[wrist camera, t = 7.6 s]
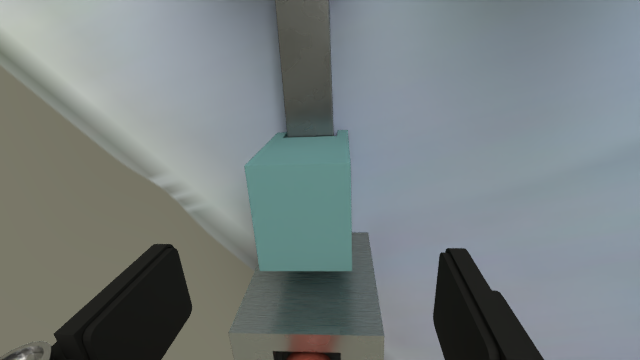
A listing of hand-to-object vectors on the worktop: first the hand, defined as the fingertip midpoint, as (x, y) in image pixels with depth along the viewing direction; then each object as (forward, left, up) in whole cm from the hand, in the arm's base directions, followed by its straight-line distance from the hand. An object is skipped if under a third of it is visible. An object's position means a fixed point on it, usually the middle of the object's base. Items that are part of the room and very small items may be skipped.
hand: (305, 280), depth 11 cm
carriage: (+1, 0, -13) cm, 13 cm away
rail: (+1, -6, -13) cm, 14 cm away
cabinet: (+1, +9, -13) cm, 15 cm away
